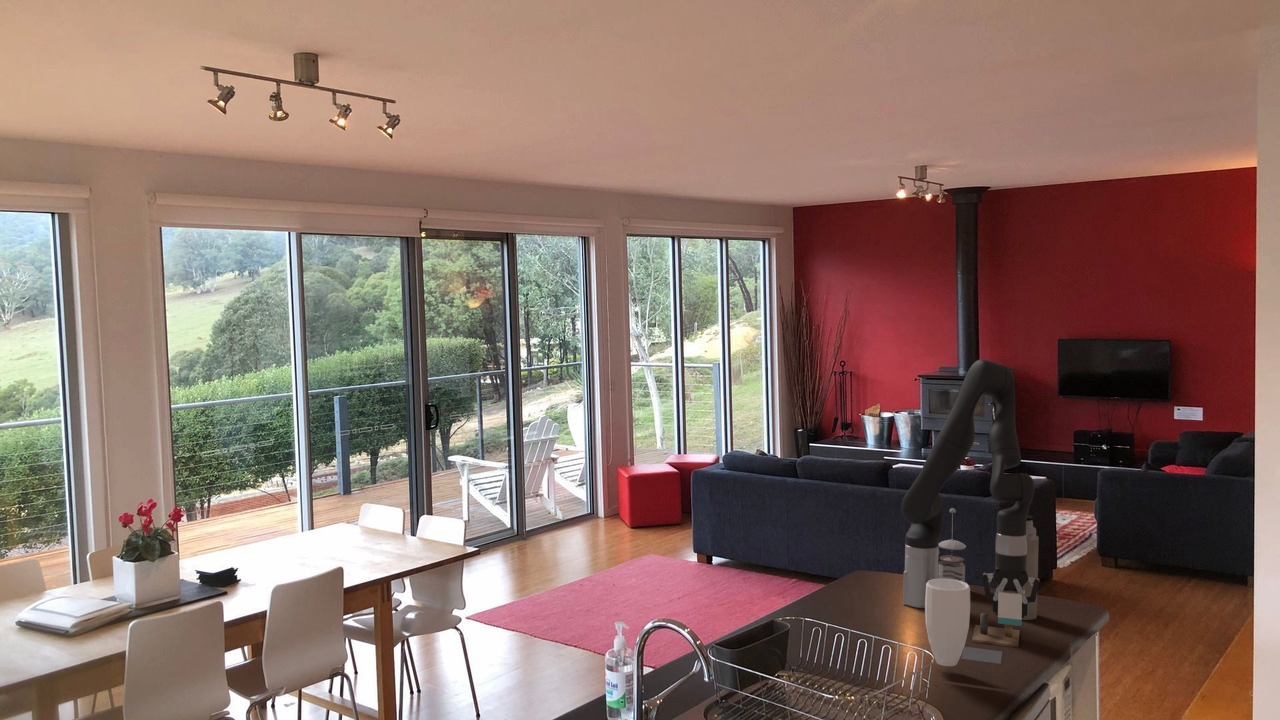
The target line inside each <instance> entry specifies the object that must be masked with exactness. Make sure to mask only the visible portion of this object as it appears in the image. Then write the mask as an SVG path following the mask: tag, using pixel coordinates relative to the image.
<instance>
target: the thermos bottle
mask: <svg viewBox="0 0 1280 720" xmlns="http://www.w3.org/2000/svg"><path fill="white" fill-rule="evenodd" d="M1033 520H1034V516H1033V515H1029V514H1027V520H1026V539H1027V574H1028V576H1029V577H1033V578H1036V577H1037V578H1039V543H1040V542H1039V540H1040V539H1039V535H1037V533H1038V532H1037V528H1036V527H1035V526H1034V522H1033ZM1023 588H1024V591H1025V593H1026V596H1027V597H1028V596H1031V592H1032V586H1031V585H1030V582H1029V581H1027V582H1026V583H1025V585H1024V586H1023ZM1037 617H1038V594H1037V595H1036V600H1035V602H1030V603H1028V606H1027V616H1024V618H1022V621H1023V620H1025V621H1029V620H1030V621H1031V620H1035V619H1037Z"/></svg>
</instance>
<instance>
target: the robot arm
mask: <svg viewBox="0 0 1280 720" xmlns="http://www.w3.org/2000/svg"><path fill="white" fill-rule="evenodd" d="M1015 388H1016V387H1015V376H1014V373H1013V370H1012V369H1011V368H1010V367H1009V366H1008V365H1005V364H1002V363H999V362H995V361H991V360H988V359H982V358H981V359H977V360H975V361H974V362H973V364H971V366H970V367H969V369H968V371H967V373H966V375H965V377H964V379H963V383H962V385H961V387H960V390H959V391H958V395H957V397H956V400H955V402H954V404H953V406H952V408H951V410H950V412H949V414H948V417H947V418H946V421H945V423H944V424H943V427H942V428H941V429H940V431H939V433H938V435H937V436H936V439H935V441H934V442H933V446H932V448H931V450H930V452H929V453H928V455H927V458H926V460H925V462H924V464H923V466H922V468H921V470H920V472H919V474H918V476H917V477H916V479H915V480H914V482H913V483H912V485H910V487H909V489H908V490H907V491H906V493H905V495H904V497H903V498H902V500H901V505H900V507H901V513H902V516H903V518H904V519H905V520H906V521H907V522H909V523H910V527H909V529H908V531H907V532H906V534H905V538H904V543H905V545H904V571H903V576H902V577H903V578H902V579H903V583H902V584H903V585H902V586H903V587H902V588H903V590H902V591H903V595H902V604H903V605H905V606H909V607H913V608H917V609H925V595H926V583H927V582H928V581H929V580H933V579H938V566H939V554H938V549H939V548H940V547H939V543H940V542H939V541H940V538H941V536H942V528H943V515H944V514H943V511H944V509H943V500H942V498H941V496H940V494H939V493H940V492H941V489H942V488H943V487H944V486H945V484H946V482H948V481H949V479H950V478H951V477H952V476H953V475H954V474H955V473H956V472H957V471H958V469H959V468H960V467H961V466H962V464H963V462H964V461H965V459H966V458H967V456H968V454H969V452H970V451H971V448H972V447H973V445H974V442H975V439H976V438H975V437H976V432H975V430H976V429H975V420H974V419H975V418H974V417H975V416H974V415H975V410H976V408H977V405H978V403H979V401H980V399H981V397H982V396H989V397H992V398H993V401H994V403H995V409H996V412H995V416H994V420H993V421H992V424H991V426H990V429H989V434H988V442H989V448H990V453H991V460H992V468H991V469H992V471H991V478H990V484H989V490H990V491H989V492H990V494H991V496H992V497H993V498H994V499H995V500H996V501H999V502H1014V505H1013V506H1011V507H1008V508H1004V509H1001V510H999V511H998V512H997V515H996V536H995V553H994V554H995V555H994V556H995V560H994V561H995V563H994V564H995V565H994V571H993V572H992V573H991V572H990V573H989V572H988V573H987V572H983V573H982V576H981V577H982V583H983V587H984V588H983V589H984V594H985V597H986V598H988V599H991V600H992V612H993V613H995V616H998V591H1000V592H1002V591H1003V589H1004V590H1012V591H1018V593H1021V594H1022V618H1024V616H1027V606H1028V603H1030V602H1035V600H1036V595H1037V596H1038V590H1039V587H1040V586H1039V585H1040V578H1039V577H1038V578H1037V577H1036V578H1033V577H1029V576H1028V574H1027V539H1026V520H1027V515H1029V510H1030V506H1031V503H1032V500H1033V497H1034V493H1035V489H1036V488H1035V481H1034V479H1033V478H1032V477H1031V475H1029V474H1028V473H1025V472H1022V473H1021V472H1020V473H1019V472H1017V473H1016V472H1014V473H1013V472H1011V473H1010V472H1009V473H1007V472H1005V471H1006V470H1008V469H1013V468H1015V467H1017V466H1019V465H1020V464H1021V463H1022V462H1021V461H1022V456H1021V455H1022V454H1021V451H1020V450H1021V449H1020V446H1019V445H1020V443H1019V440H1018V439H1019V438H1018V435H1017V426H1016V390H1015ZM939 550H940V549H939ZM992 579H994V580H995V582H996V583H997V587H996V590H995V591H994V592H992V590H991V586H990V583H991V582H992ZM1027 581H1029V582H1030V585H1031V586H1032V592H1031V596H1028V597H1027V596H1026V593H1025V591H1024V588H1023V586H1024V585H1025V583H1026V582H1027Z"/></svg>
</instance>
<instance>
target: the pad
mask: <svg viewBox="0 0 1280 720" xmlns="http://www.w3.org/2000/svg"><path fill="white" fill-rule="evenodd" d="M1002 657H1003V650H1002V651H1000V650H995V649H993V650H992V649H986V648H978V647H970V646H964V648H963V651H962V654H961V657H960V658H961V660H967V661H968V660H969V661H974V662H980V663H981V662H983V663H990V664H995V665H1002Z"/></svg>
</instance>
